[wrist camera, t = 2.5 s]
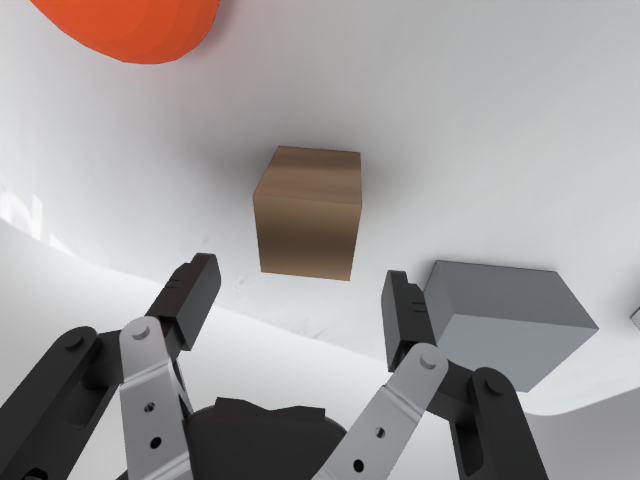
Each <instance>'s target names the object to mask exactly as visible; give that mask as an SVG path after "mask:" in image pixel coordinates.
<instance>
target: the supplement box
mask: <svg viewBox="0 0 640 480" xmlns="http://www.w3.org/2000/svg"><path fill="white" fill-rule="evenodd" d="M631 320H632V322H633V323H634V324H635V325H636V327H637V328H638V329H639V330H640V309H639V310H638V311H637V312H636V313H635V314H634V316H633V317H632V318H631Z"/></svg>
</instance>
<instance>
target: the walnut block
mask: <svg viewBox="0 0 640 480" xmlns="http://www.w3.org/2000/svg"><path fill="white" fill-rule="evenodd" d="M253 204H254V213H255V221H256V230H257V239H258V248H259V257H260V266H261V272H266V273H276V274H285V275H295V276H305V277H315V278H324V279H334V280H344V281H350V275H351V269H352V263H353V257H354V251H355V245H356V238H357V232H358V226H359V220H360V214H361V208H362V191H361V162H360V153H358V152H346V151H334V150H322V149H310V148H298V147H287V146H279V147H278V148H277V150H276V152H275V154H274V156H273V158H272V160H271V162H270V163H269V165H268V167H267V169H266V171H265V173H264V175H263V177H262V178H261V180H260V182H259V184H258V186H257V188H256V190H255V192H254V193H253Z"/></svg>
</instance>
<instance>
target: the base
mask: <svg viewBox="0 0 640 480" xmlns="http://www.w3.org/2000/svg"><path fill="white" fill-rule="evenodd" d="M423 294H424V298H425V302H426V306H427V309H428V314H429V317H430V321H431V325H432V329H433V333H434V337H435V340H436V344H437V347H438V349H440V350H441V351H442V352H443V353H444V355H445V356H446V358H447V359H448V360H450V361H451V362H453V363H455V364H457V365H460V366H462V367H465V368H467V369H470V370H472V371H475V370H476V369H478V368H480V367H489V368H493V369H495V370H497V371H499V372H501V373H502V374H503V375H505V376H506V377H507V378H508V379H509V381H510V382H511V383H512V385H513V386H514V389H515V391H519V392H529V391H530V390H531V389H532V388H533V387H534V386H535V385H537V384H538V383H539V382H540V381H541V380H542V379H543V378H545V377H546V376H547V375H548V374H549V373H550V372H551V371H553V370H554V369H555V368H556V367H557V366H558V365H559V364H561V363H562V362H563V361H564V360H565V359H566V358H567V357H569V356H570V355H571V354H572V353H573V352H574V351H575V350H577V349H578V348H579V347H580V346H581V345H582V344H583V343H584V342H586V341H587V340H588V339H589V338H590V337H591V336H592V335H594V334H595V333H596V332H597V331H598V330H599V328H598V326H597V325H596V324H595V322H594V321H593V320H592V318H591V317H590V316H589V314H588V313H587V312H586V310H585V309H584V308H583V306H582V305H581V304H580V302H579V301H578V300H577V298H576V297H575V296H574V294H573V293H572V292H571V290H570V289H569V288H568V286H567V285H566V284H565V282H564V281H563V280H562V278H561V277H560V276H559V274H558V273H557V272H550V271H539V270H529V269H519V268H509V267H499V266H489V265H478V264H468V263H458V262H448V261H438V260H437V261H436V264H435V266H434V268H433V271H432V273H431V276H430V278H429V280H428V283H427V285H426V288H425V290H424V292H423Z"/></svg>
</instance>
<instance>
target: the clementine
mask: <svg viewBox="0 0 640 480" xmlns="http://www.w3.org/2000/svg"><path fill="white" fill-rule="evenodd" d="M30 1H31V2H32V3H33V4H34V5H35V6H36V7H37V8H38V9H39V10H40V11H41V12H42V13H43V14H44V15H45V16H46V17H47V18H48V19H50V20H51V21H52V22H53V23H54V24H55V25H56V26H57V27H58V28H59V29H60V30H62V31H63V32H64V33H66V34H67V35H69V36H70V37H72V38H74V39H75V40H77V41H78V42H80V43H81V44H83V45H84V46H86V47H88V48H91V49H93V50H95V51H97V52H100V53H102V54H104V55H107V56H110V57H112V58H115V59H117V60H120V61H122V62H129V63H138V64H160V63H164V62H169V61H174V60H177V59H178V58H180V57H181V56H183V55H184V54H186V53H187V52H189V51H190V50H192V49H193V48H195V47H196V46H197V45H199V43H200V42H201V41H202V39H203V38H204V37H205V35H206V34H207V33H208V31H209V30H210V29H211V26H212V23H213V21H214V18H215V15H216V12H217V9H218V6H219V0H30Z"/></svg>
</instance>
